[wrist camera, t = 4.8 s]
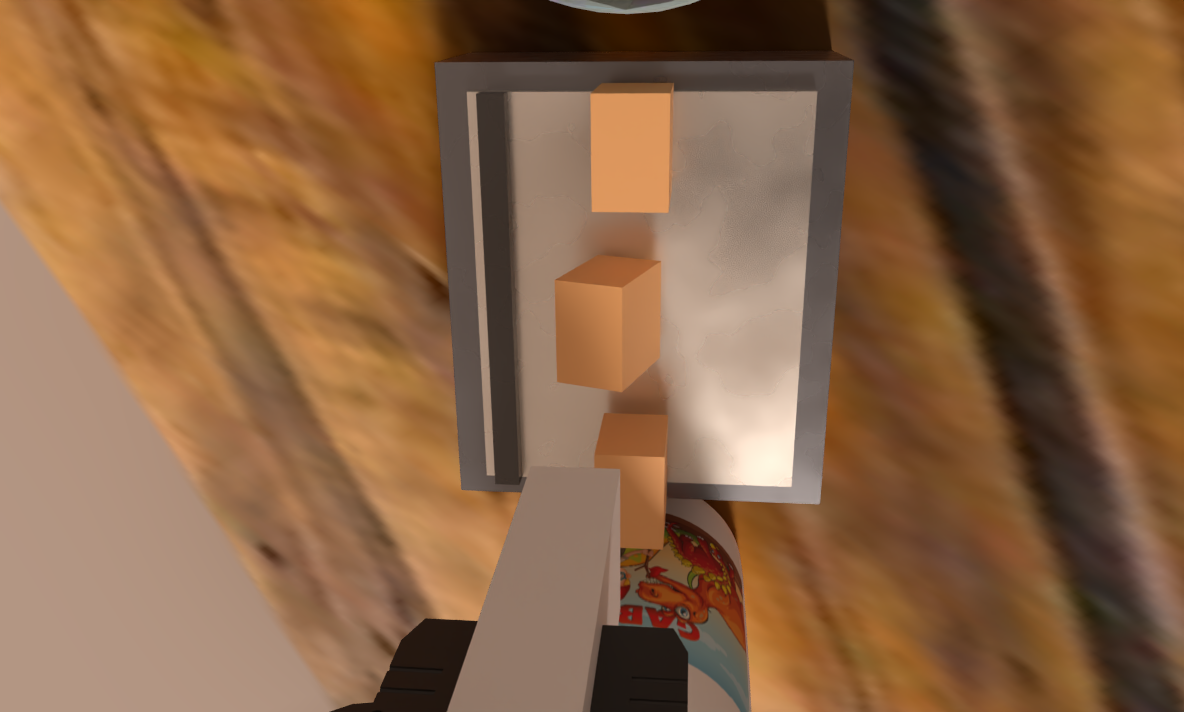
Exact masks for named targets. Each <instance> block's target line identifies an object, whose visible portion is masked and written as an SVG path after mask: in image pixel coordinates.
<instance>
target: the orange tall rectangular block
mask: <svg viewBox="0 0 1184 712" xmlns="http://www.w3.org/2000/svg"><path fill="white" fill-rule="evenodd" d="M673 91H674V83H601V84H600V85H599V86H598V87H597V88H596V89H595V90H594V91H593V92H591V93H590V105H591V197H592V212H638V213H669V206H670V200H671V193H672V150H673Z"/></svg>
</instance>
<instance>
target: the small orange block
mask: <svg viewBox="0 0 1184 712" xmlns="http://www.w3.org/2000/svg"><path fill="white" fill-rule="evenodd" d="M554 281H555V322H556V362H557V382H559V383H566V384H572V385H579V386H585V387H591V388H598V389H604V390H611V391H617V392H623V391H624V390H625V389H626V388H627V387H629V386H630V385H631V384H632V383H633V382H634V381H635V380H636V379H637V378H638V377H639V376H640V375H642V374H643V373H644V372H645V371H646V370H647V369H648V368H649V367H650V366H651V365H652V364H653V363H655V362H656V361H657V360H658V359H659V358H660V315H661V261H657V260H647V259H637V258H627V257H617V256H607V255H597V256H595V257H593V258H592V259H590V260H588V261H587V262H585V263H583V264H581V265H580V266H578V267H576V268H575V269H573V270H571V271H569V272H568V273H566V274H564V275H562V276H561V277H559V278H557V279H556V280H554Z"/></svg>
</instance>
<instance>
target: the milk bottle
mask: <svg viewBox="0 0 1184 712" xmlns="http://www.w3.org/2000/svg"><path fill="white" fill-rule="evenodd" d="M618 626H636V627H656V628H674V630H675V632H676V633H677V635H678V636H679V638H680V640H681V641H682V643H683V645H684V646H685V648H686V650H687V651H688V712H751V697H750V678H749V660H748V645H747V630H746V615H745V601H744V587H743V575H742V567H741V560H740V553H739V549H738V546H737V543H736V540H735V538H734V536H733V534H732V532H731V530H730V528H729V527H728V525H727V524H726V522H725V521H724V520H723V519H722V517H721V516H720V515H719V514H718V513H717V512H716V511H715V510H714V509H713V508H712V507H711V506H710V505H708V504H707V503H706V502H705V501H703V500H701V499H676V498H667V501H666V515H665V530H664V544H663V550H659V549H637V548H620V615H619V623H618Z"/></svg>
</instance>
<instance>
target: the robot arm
mask: <svg viewBox="0 0 1184 712" xmlns="http://www.w3.org/2000/svg"><path fill="white" fill-rule="evenodd" d="M619 615H620V469H607V468H578V467H549V466H531V467H530V470H529V473H528V476H527V479H526V481H525V484H524V487H523V490H522V493H521V496H520V499H519V502H518V505H517V508H516V511H515V514H514V517H513V520H512V522H511V525H510V528H509V531H508V534H507V537H506V540H505V543H504V546H503V549H502V552H501V555H500V558H499V561H498V564H497V566H496V569H495V572H494V575H493V578H492V581H491V584H490V587H489V590H488V593H487V596H486V599H485V602H484V605H483V607H482V610H481V613H480V616H479V619H478V621H465V620H445V619H424V620H423V621H422V622H421V623H420V624H419V625H418V626H417V627H416V628H414V629H413V630H412V631H411V632H410V633H409V634H408V635H407V636H405V637H404V638H403V639H402V640H401V642H400V644H399V646H398V649H397V651H396V653H395V655H394V658H393V660H392V662H391V664H390V670H389V671H387V673H386V675H385V678H384V680H383V682H382V684H381V687H380V692H378V693H377V696H376V698H375V700H374V702H373V703H361V704H352V705H349V706H346V707H343V708H340V709H337V710H334V711H331V712H688V651H687V650H686V648H685V646H684V645H683V643H682V641H681V640H680V638H679V636H678V635H677V633H676V632H675V630H674V628H656V627H636V626H618V623H619Z"/></svg>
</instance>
